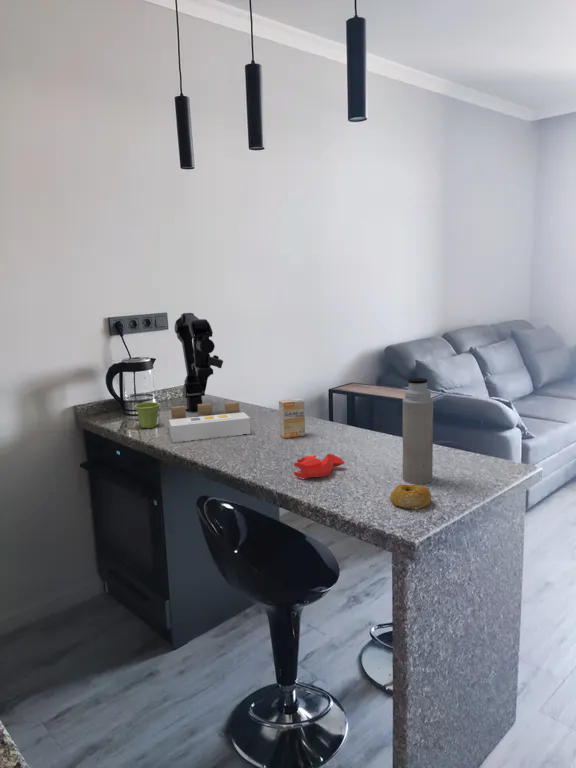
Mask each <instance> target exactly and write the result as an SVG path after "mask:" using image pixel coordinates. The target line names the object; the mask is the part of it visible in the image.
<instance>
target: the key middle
mask: <svg viewBox="0 0 576 768" xmlns="http://www.w3.org/2000/svg"><path fill="white" fill-rule="evenodd" d="M211 415H213V405H212V403H211V402H209V403H202V404H198V411H197V417H201V416H211Z"/></svg>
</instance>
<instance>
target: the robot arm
mask: <svg viewBox="0 0 576 768" xmlns="http://www.w3.org/2000/svg"><path fill="white" fill-rule="evenodd" d="M174 332H175V334H176V337H177V339H178V340H179V342H181V345H182V346H181V347H182V352H183V358H184V363H185V365H184V366H185V370H186V376H185V379H184V381H183V382H184V384H183V388H182V397H184V398H185V399H186V407H187V408H185V412H193V413H195V412H198V404H203V398H202V396H203V397H205V396H206V390H207V384H208V378H209V377H210V376H212V375H214V369H213V368H212V367H217V368H218V369H222V366H223V364H224V360H223V359H221V358H219V356H218V355H217V354H216V355H215V354H214V355H213V356H211V354H212V353H213V351H214V350H215V347H216V346H215V343H214V341H213V340H212V339H210V338H212V337H213V329H212V326H211V325H210V322H209V321H208V320H207V319H205V318H203V319H202V318H198V317H197V316H196V315H195V314H194V313H193V312H184V313H181V315H180V317H179V318H178V319H176V321H175V323H174Z"/></svg>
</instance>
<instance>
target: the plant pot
mask: <svg viewBox="0 0 576 768" xmlns="http://www.w3.org/2000/svg"><path fill="white" fill-rule="evenodd" d="M160 405H161V404H160V403H159V402H155V401H154V402H153V401H152V402H143V403H138V404H136V405H134V408H135V411H136V413H137V415H138V420H139V423H140V427H141V428H142V429H153V428H155V427H157V425H158V413H159V407H160Z"/></svg>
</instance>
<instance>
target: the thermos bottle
mask: <svg viewBox="0 0 576 768" xmlns="http://www.w3.org/2000/svg"><path fill="white" fill-rule="evenodd" d="M407 382H408V389H407V390H405V394H404V397H403V399H402V480H403V481H404V482H405V483H408V482H409V484H412V485H424V484H423V483H425V484H428V482H429V483H431V482H432V481H433V466H434V465H433V464H434V463H433V460H434V459H433V456H434V455H433V454H434V453H433V452H434V451H433V450H434V447H433V446H434V445H433V437H434V435H433V434H434V399H433V398H432V397H431V396H432V393H431V390H430V389H428V379H427V378H424V377H410V378H408V381H407Z"/></svg>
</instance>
